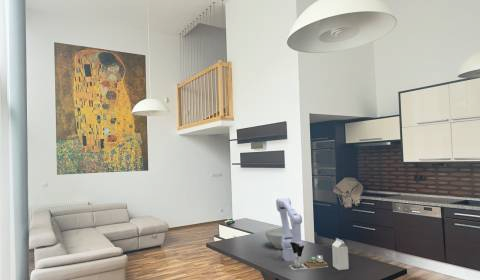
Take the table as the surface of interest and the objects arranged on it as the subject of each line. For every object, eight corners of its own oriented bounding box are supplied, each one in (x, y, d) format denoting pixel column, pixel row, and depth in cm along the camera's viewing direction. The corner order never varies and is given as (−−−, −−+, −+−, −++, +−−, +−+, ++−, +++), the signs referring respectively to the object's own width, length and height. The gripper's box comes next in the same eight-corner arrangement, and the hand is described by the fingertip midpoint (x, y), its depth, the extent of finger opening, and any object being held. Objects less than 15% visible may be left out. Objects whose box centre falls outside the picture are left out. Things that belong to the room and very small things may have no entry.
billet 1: (293, 267, 203) (293, 257, 204) (299, 266, 204) (299, 256, 204) (296, 269, 199) (295, 259, 200) (301, 268, 200) (301, 258, 200)
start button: (311, 261, 211) (310, 256, 212) (314, 261, 212) (314, 256, 212) (312, 262, 209) (312, 258, 209) (316, 262, 209) (315, 257, 210)
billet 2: (315, 264, 205) (315, 254, 206) (321, 264, 206) (321, 254, 206) (318, 266, 201) (318, 256, 202) (324, 266, 202) (323, 256, 202)
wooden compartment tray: (303, 266, 205) (302, 261, 205) (323, 264, 208) (322, 259, 208) (307, 270, 198) (307, 265, 198) (328, 268, 200) (328, 263, 201)
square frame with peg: (307, 262, 213) (307, 258, 213) (315, 261, 214) (315, 257, 214) (311, 265, 207) (311, 261, 207) (320, 264, 208) (319, 260, 208)
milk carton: (338, 271, 194) (337, 241, 195) (333, 268, 201) (331, 238, 202) (348, 270, 196) (347, 240, 197) (342, 267, 203) (341, 237, 204)
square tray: (288, 267, 205) (288, 264, 205) (301, 265, 207) (301, 263, 207) (293, 271, 196) (293, 269, 196) (307, 270, 198) (306, 268, 198)
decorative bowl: (258, 247, 253) (258, 232, 254) (277, 240, 273) (277, 227, 274) (286, 253, 235) (285, 237, 236) (304, 245, 255) (303, 230, 256)
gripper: (286, 231, 209) (287, 252, 208) (294, 236, 195) (295, 258, 194) (296, 231, 211) (297, 251, 210) (305, 235, 197) (306, 257, 196)
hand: (297, 254), depth 202 cm, fingers open, 7 cm apart
